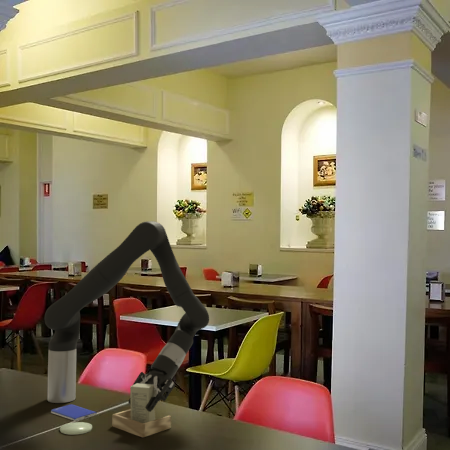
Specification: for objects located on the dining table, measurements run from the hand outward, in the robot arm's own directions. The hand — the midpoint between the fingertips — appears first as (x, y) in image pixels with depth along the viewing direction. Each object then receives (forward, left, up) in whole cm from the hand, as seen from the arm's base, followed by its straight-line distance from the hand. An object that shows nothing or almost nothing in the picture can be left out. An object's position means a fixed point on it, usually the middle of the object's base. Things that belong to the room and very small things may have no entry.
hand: (139, 407), depth 164 cm
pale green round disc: (-1, -18, -6) cm, 19 cm away
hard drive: (-16, -20, -7) cm, 27 cm away
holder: (-1, +1, -6) cm, 6 cm away
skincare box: (-1, +1, -6) cm, 6 cm away
